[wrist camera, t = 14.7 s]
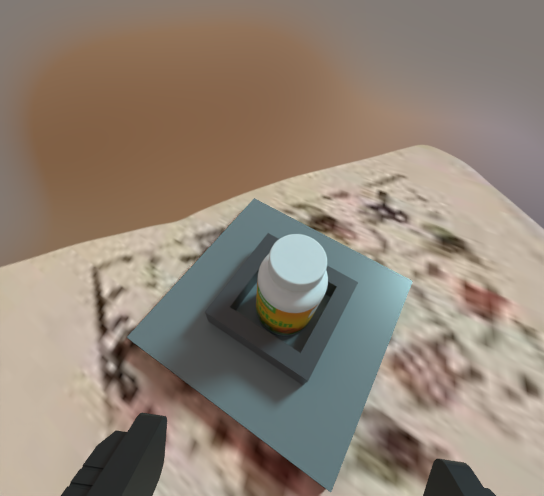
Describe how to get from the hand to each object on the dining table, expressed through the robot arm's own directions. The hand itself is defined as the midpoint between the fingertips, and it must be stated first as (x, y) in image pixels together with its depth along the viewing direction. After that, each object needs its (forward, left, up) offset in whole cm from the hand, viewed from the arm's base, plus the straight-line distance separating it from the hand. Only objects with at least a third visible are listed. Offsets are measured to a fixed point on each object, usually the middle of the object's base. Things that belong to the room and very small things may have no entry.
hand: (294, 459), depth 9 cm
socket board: (+5, -10, -17) cm, 20 cm away
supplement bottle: (+4, -10, -16) cm, 19 cm away
